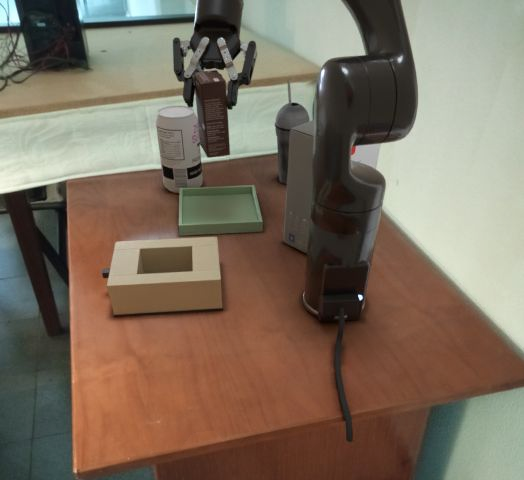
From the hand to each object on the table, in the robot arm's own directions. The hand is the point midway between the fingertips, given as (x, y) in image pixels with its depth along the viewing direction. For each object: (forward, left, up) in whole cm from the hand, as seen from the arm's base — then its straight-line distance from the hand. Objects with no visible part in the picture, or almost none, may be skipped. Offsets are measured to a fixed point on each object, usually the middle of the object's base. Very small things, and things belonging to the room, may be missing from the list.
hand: (209, 105), depth 80 cm
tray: (+2, -1, -20) cm, 21 cm away
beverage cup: (+16, -17, -21) cm, 31 cm away
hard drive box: (-8, -20, -21) cm, 30 cm away
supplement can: (+15, +6, -21) cm, 27 cm away
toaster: (-22, +8, -20) cm, 31 cm away
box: (+2, 0, -8) cm, 8 cm away
